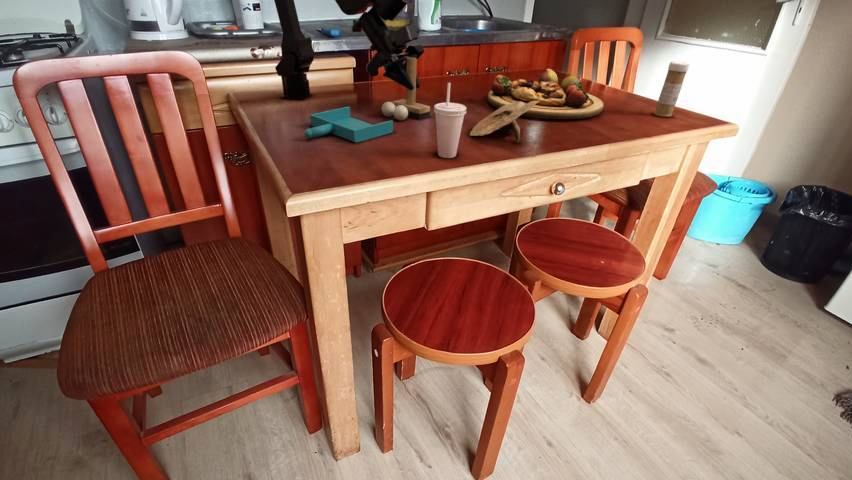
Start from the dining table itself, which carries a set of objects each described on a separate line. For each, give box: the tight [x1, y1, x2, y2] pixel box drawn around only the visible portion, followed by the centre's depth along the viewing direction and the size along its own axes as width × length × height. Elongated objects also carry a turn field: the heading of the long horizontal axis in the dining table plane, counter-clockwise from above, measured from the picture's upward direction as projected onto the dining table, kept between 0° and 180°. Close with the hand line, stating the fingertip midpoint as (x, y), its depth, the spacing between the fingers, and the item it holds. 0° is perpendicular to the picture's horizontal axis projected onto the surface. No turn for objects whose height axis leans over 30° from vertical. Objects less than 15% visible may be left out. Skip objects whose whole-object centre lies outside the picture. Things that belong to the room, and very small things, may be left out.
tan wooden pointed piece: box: [469, 100, 539, 144], centre depth 102 cm, size 18×14×8 cm
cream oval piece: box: [393, 105, 409, 121], centre depth 111 cm, size 4×4×4 cm
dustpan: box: [304, 106, 394, 143], centre depth 102 cm, size 18×16×3 cm
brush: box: [391, 57, 431, 121], centre depth 113 cm, size 4×10×13 cm, turn 46°
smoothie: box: [433, 82, 467, 159], centre depth 89 cm, size 6×6×14 cm
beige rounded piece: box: [381, 101, 395, 118], centre depth 114 cm, size 4×4×4 cm
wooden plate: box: [486, 68, 605, 120], centre depth 126 cm, size 32×32×8 cm
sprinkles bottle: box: [653, 60, 690, 118], centre depth 119 cm, size 5×5×14 cm
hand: (415, 88), depth 113 cm, fingers closed on brush, 2 cm apart
